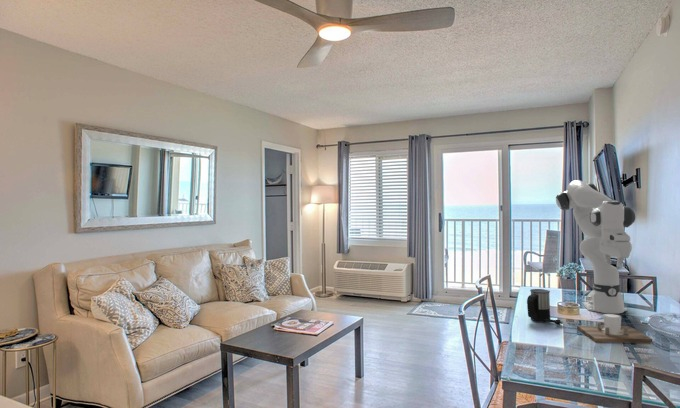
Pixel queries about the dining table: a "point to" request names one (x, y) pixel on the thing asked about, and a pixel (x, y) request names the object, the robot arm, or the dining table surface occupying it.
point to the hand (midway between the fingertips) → (613, 265)
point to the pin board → (614, 334)
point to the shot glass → (612, 322)
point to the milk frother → (540, 306)
